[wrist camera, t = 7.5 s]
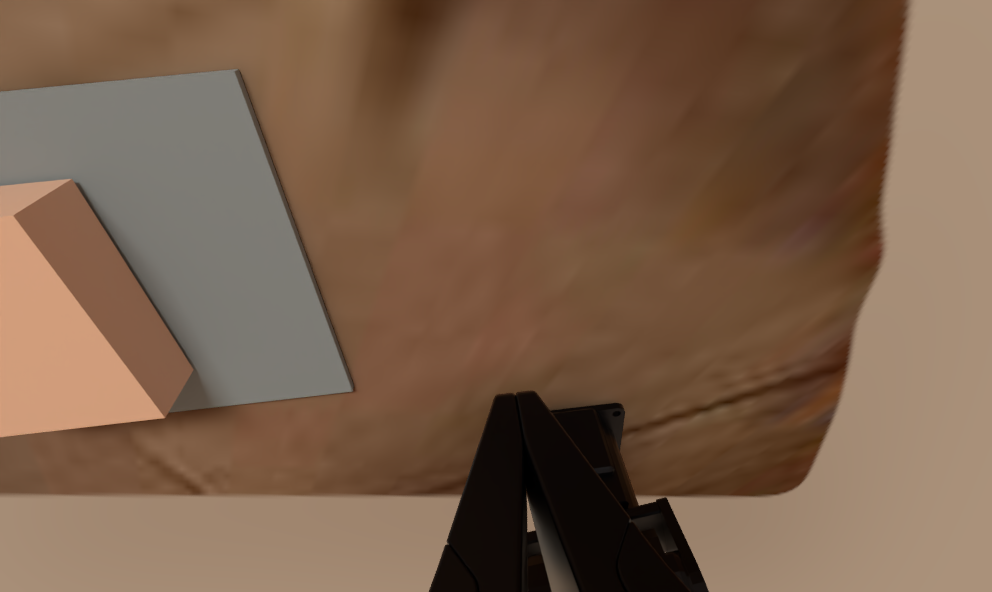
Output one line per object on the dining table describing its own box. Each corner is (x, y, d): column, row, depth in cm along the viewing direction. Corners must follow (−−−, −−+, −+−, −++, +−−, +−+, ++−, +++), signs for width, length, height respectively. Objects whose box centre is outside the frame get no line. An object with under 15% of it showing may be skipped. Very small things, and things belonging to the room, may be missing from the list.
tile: (165, 418, 21) (-43, 441, 21) (195, 366, 24) (10, 387, 23) (12, 215, 15) (-280, 245, 15) (75, 176, 18) (-174, 201, 18)
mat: (353, 385, 26) (352, 391, 26) (-21, 428, 25) (-26, 434, 25) (238, 68, 16) (234, 71, 16) (-364, 126, 16) (-381, 130, 16)
